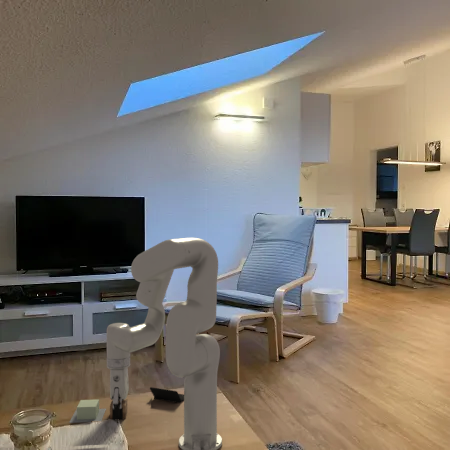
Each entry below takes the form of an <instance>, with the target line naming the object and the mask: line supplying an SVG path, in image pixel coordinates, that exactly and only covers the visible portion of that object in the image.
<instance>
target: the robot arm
mask: <svg viewBox="0 0 450 450" xmlns="http://www.w3.org/2000/svg"><path fill="white" fill-rule="evenodd" d="M183 268H192V270H191V272H190V274H189V277H188V281H187V287H186V288H187V295H186V299H185V301H181V302H180V303H177V304H174V306H173V307H171V309H170V310H169V312H168V314H167V317H166V312H165V311H166V310H165V307H164V304H163V302H164V299H165V296H166V293H167V291H168V288H169V285H170V282H171V279H172V276H173V274H174V271H175V270H178V269H183ZM130 270H131V271H130V272H131V276H132V277H133V279H134V280H135V281H137V282H139V285H138V289H137V291H136V295H135V297H136V301H138V302H139V303H140V304H141V305H143V306H145V307H146V308H148V310H147V315H146V317H145V319H144V322H143V323H140V324H137V325H134V326H130V325H129V324H128V323H126V322H125V323H124V322H113V323H111V324H109V325H108V326H107V328H106V368H107V369H108V370H109V371H110V372H109V393H110V394H109V395H110V396H109V397H110V399H111V401H112V400H113V409H112V419H119V420H122V421H123V420H124V419H123V408H122V400H125V399H127V396H128V394H129V369H128V368H130V366H131V353H134V352H137V351H139V350H141V349H144V348H146V347H151V346H153V345H155V343H156V342H157V341H158V340H159V338H160V337H161V334H162V332H163V329H164V327H165V361H166V362H165V363H166V365H167V368H168V371H169V372H170V373H171V374H172V375H173V376H174V377H177V378H179V379H181V378H184V384H183V394H184V401H183V434H182V435H181V436H180V437H179V438H178V446H179V448H180V449H181V450H218V449H220V448H221V447H222V446H223V437H222V436H221V435H220V434H219V433H217V432H218V427H217V426H218V412H217V411H218V403H217V402H218V400H217V399H218V396H217V392H218V372H219V371H218V370H219V363H220V359H221V358H220V357H221V349H220V344H219V342H218V340H217V339H216V338H215V337H213V336H212V335H210V334H207V333H204V332H206V331H208V330H209V329H211V328H213V326H214V325H215V324H216V320H217V305H218V304H217V303H218V302H217V301H218V300H217V299H218V298H217V297H218V296H217V295H218V292H217V291H218V286H217V285H218V275H219V257H218V255H217V252H216V250H215V248H214V247H213V245H212V244H211V243H209V242H208V241H207V240H205V239H202V238H198V237H183V238H170V239H166V240H164V241H163V240H162V241H161V242H159V243H157V244H155V245H154V246H152V247H150V248H148V249H146V250H144V251H142V252H140V253H139V254H137V255H136V257H135V258H134V259H133V261H132V263H131V267H130ZM165 322H166V324H165ZM165 325H166V326H165ZM118 401H120V403H119V402H118ZM112 419H111V420H112ZM119 420H118V421H119Z"/></svg>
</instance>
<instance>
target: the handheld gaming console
mask: <svg viewBox="0 0 450 450" xmlns="http://www.w3.org/2000/svg"><path fill="white" fill-rule="evenodd" d="M149 390H150V392H151V394H152V396H153V400H154V399H155V400H160V401H165V402H172V403H178V404H182V403H184V393H179V392H178V391H177V390H173V389H172V390H171V389H165V388H157V387H153V386H151V387H149Z"/></svg>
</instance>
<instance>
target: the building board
mask: <svg viewBox="0 0 450 450" xmlns="http://www.w3.org/2000/svg"><path fill="white" fill-rule="evenodd" d="M106 410H107V408H99V413H98V415H97V418H96V419H82V420H77V409H75V411H74V413H73V415H72V416H71V419H70V420H69V422H68V423H69V424H75V423H92V422H91V421H101V422H102V420H103V418H104V416H105V412H106Z"/></svg>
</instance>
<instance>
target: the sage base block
mask: <svg viewBox="0 0 450 450" xmlns="http://www.w3.org/2000/svg"><path fill="white" fill-rule="evenodd" d="M99 409H100V399H80V400H79V402H78V405H77V406H76V410H77V420H82V419H96V418H97V415H98V413H99Z"/></svg>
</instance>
